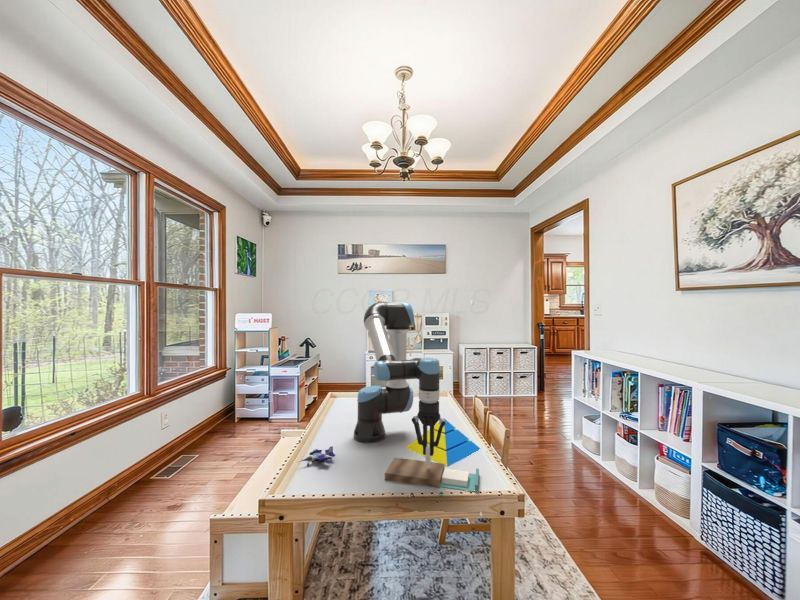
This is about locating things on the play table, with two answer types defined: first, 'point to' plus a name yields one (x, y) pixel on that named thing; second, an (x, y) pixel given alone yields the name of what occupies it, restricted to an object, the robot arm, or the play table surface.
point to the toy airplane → (320, 456)
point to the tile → (455, 477)
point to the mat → (471, 483)
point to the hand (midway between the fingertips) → (428, 463)
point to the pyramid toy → (447, 445)
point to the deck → (415, 472)
